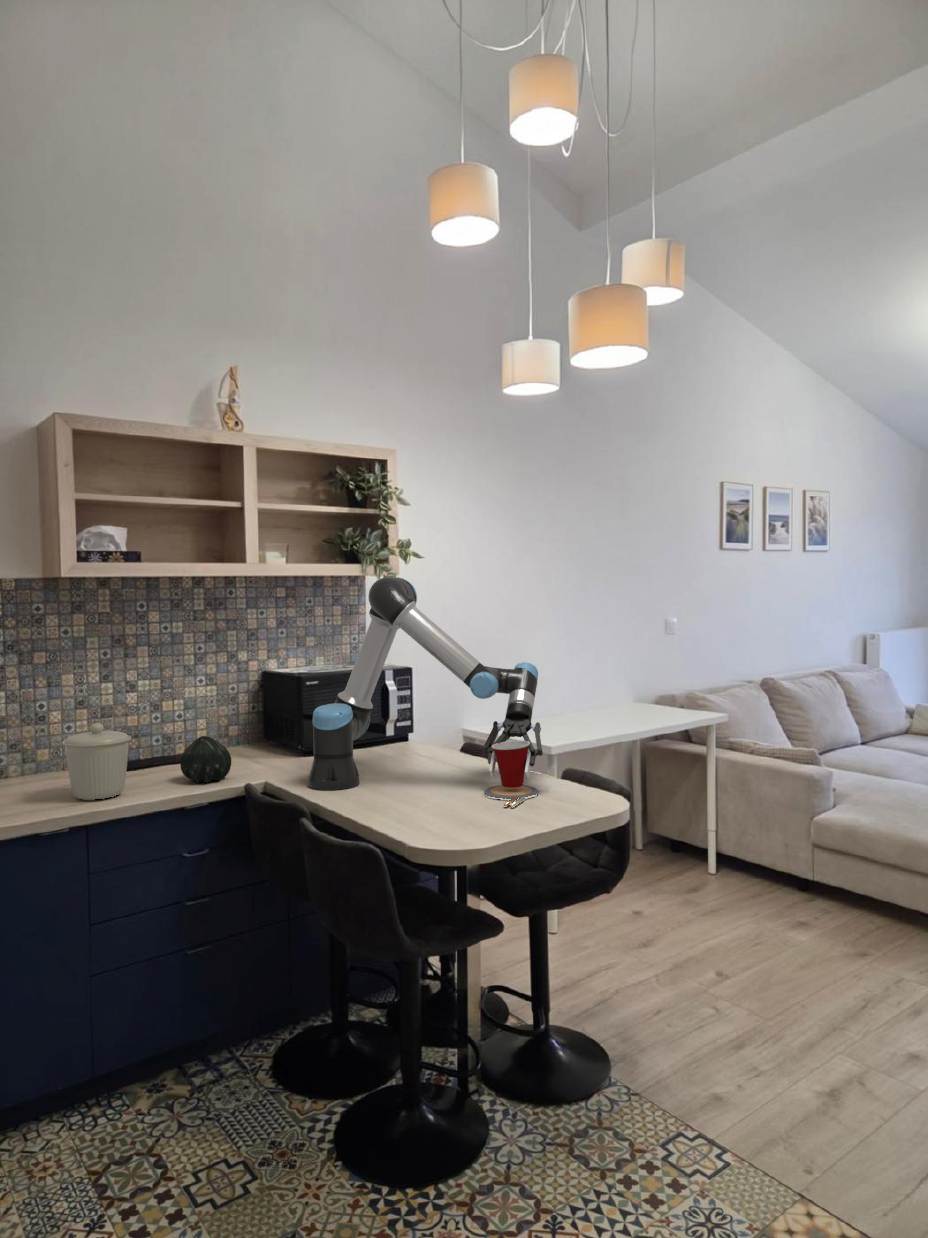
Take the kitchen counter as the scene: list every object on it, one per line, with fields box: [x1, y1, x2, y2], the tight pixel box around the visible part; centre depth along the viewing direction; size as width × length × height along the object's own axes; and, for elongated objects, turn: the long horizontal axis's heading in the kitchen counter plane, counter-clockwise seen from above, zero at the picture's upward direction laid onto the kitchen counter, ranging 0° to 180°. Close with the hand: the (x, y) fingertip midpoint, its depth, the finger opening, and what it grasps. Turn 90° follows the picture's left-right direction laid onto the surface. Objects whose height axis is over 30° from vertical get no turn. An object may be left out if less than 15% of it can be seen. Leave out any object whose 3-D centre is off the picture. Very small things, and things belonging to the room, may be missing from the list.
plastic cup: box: [492, 740, 530, 788], centre depth 237 cm, size 11×11×12 cm
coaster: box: [483, 784, 539, 799], centre depth 237 cm, size 15×15×1 cm
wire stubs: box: [503, 796, 525, 807], centre depth 226 cm, size 9×3×1 cm, turn 156°
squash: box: [180, 735, 232, 783], centre depth 261 cm, size 14×15×15 cm
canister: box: [61, 722, 132, 801], centre depth 242 cm, size 18×18×21 cm
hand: (508, 774), depth 234 cm, fingers closed on plastic cup, 9 cm apart
